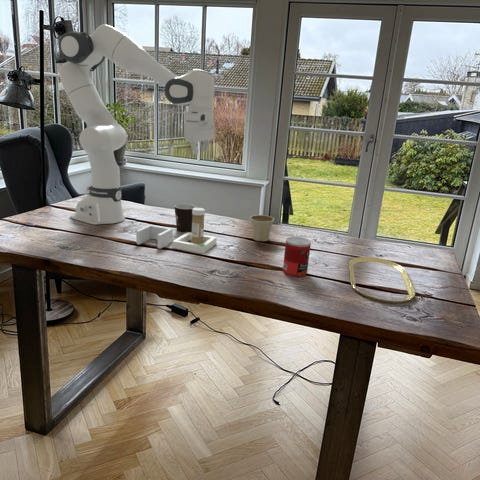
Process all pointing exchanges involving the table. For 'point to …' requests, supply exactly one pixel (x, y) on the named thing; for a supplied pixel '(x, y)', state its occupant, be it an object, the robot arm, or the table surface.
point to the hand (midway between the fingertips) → (200, 152)
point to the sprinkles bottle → (198, 225)
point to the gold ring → (392, 264)
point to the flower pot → (261, 227)
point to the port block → (184, 245)
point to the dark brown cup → (184, 217)
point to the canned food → (296, 256)
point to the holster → (155, 235)
